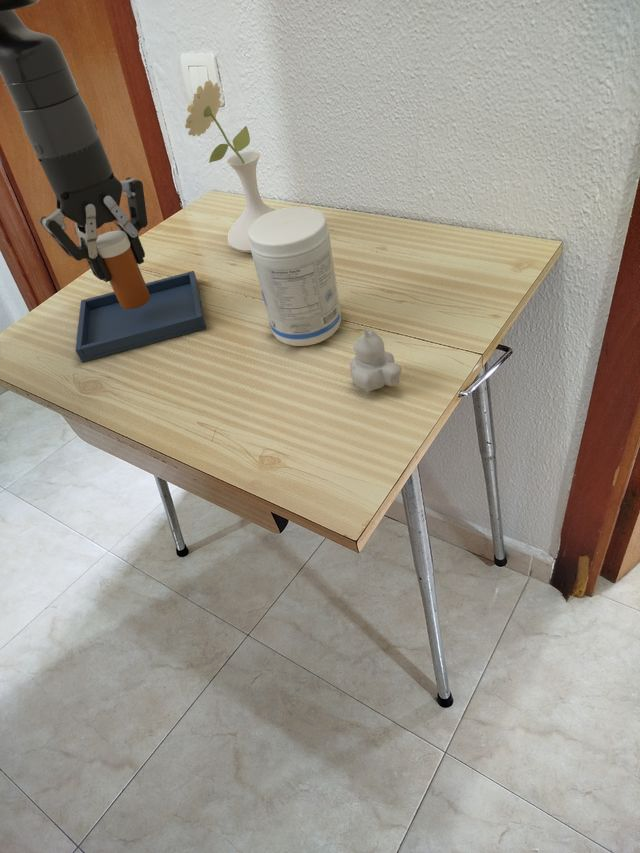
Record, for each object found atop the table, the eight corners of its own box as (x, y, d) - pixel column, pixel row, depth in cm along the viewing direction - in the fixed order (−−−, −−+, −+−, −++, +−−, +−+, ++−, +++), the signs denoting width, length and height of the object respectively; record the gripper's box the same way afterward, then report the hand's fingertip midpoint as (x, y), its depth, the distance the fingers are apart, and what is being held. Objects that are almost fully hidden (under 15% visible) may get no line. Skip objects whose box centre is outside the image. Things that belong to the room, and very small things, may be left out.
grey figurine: (367, 363, 71) (361, 307, 66) (414, 380, 68) (411, 323, 62) (340, 389, 68) (331, 333, 63) (388, 408, 65) (382, 351, 59)
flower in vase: (270, 220, 104) (234, 58, 86) (311, 237, 97) (280, 65, 79) (209, 251, 99) (157, 86, 81) (247, 271, 92) (200, 96, 74)
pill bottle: (119, 313, 82) (90, 251, 76) (119, 296, 86) (92, 235, 79) (152, 304, 82) (126, 241, 76) (151, 288, 86) (126, 227, 79)
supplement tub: (271, 313, 82) (246, 212, 72) (338, 301, 82) (323, 198, 71) (272, 355, 75) (245, 250, 65) (346, 342, 75) (330, 234, 65)
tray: (81, 362, 81) (75, 350, 79) (86, 311, 91) (80, 300, 89) (206, 328, 82) (201, 316, 81) (197, 282, 92) (193, 270, 90)
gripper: (104, 116, 74) (151, 241, 86) (-3, 159, 68) (64, 287, 80) (133, 124, 70) (179, 254, 82) (22, 170, 64) (89, 304, 76)
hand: (122, 270), depth 81 cm, fingers closed on pill bottle, 4 cm apart
